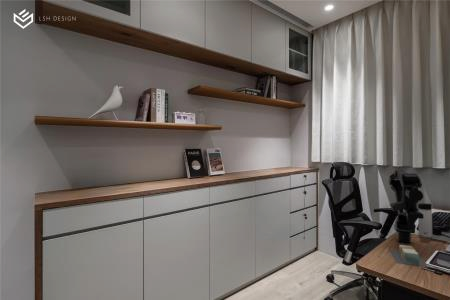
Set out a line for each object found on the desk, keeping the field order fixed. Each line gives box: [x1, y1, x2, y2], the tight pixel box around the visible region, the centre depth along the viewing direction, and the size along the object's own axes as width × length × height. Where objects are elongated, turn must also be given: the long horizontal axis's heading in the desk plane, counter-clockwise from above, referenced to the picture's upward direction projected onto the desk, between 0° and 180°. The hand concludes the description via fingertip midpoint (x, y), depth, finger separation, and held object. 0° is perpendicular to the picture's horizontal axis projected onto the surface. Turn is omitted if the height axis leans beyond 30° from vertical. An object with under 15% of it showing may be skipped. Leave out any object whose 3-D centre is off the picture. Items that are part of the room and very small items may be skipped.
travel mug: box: [417, 203, 433, 239], centre depth 144 cm, size 6×7×20 cm
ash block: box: [398, 244, 420, 267], centre depth 113 cm, size 5×5×10 cm
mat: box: [388, 249, 430, 269], centre depth 115 cm, size 16×12×1 cm
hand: (410, 227), depth 124 cm, fingers closed
